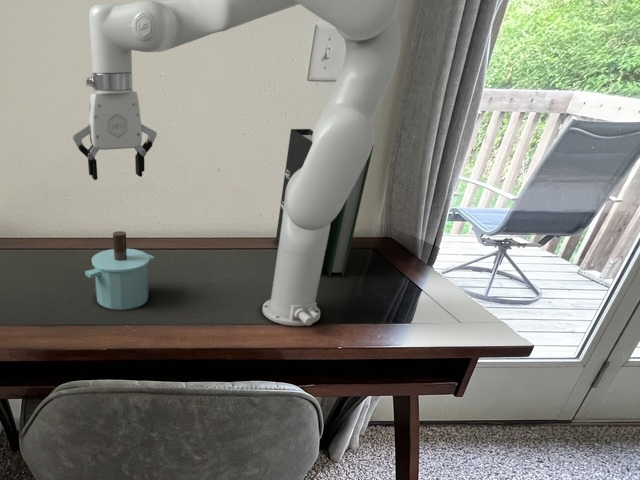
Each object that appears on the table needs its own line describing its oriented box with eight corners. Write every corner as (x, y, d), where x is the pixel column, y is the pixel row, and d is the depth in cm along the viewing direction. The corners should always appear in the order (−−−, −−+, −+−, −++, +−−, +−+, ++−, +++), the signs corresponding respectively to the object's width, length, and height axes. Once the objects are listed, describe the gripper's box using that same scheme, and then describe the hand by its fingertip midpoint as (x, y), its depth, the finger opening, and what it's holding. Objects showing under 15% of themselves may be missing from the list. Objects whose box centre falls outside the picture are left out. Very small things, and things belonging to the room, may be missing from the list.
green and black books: (346, 276, 125) (377, 144, 107) (289, 275, 126) (310, 145, 108) (321, 241, 148) (343, 128, 130) (273, 241, 149) (288, 129, 131)
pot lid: (161, 265, 110) (161, 235, 106) (111, 279, 103) (109, 247, 99) (129, 249, 119) (128, 220, 115) (81, 261, 113) (78, 231, 109)
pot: (167, 297, 116) (167, 260, 111) (103, 317, 107) (101, 278, 102) (138, 280, 125) (137, 245, 120) (77, 298, 116) (74, 261, 111)
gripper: (70, 86, 87) (79, 184, 96) (161, 83, 90) (161, 177, 99) (65, 84, 93) (74, 176, 102) (150, 81, 96) (151, 170, 106)
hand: (117, 177), depth 101 cm, fingers open, 9 cm apart
